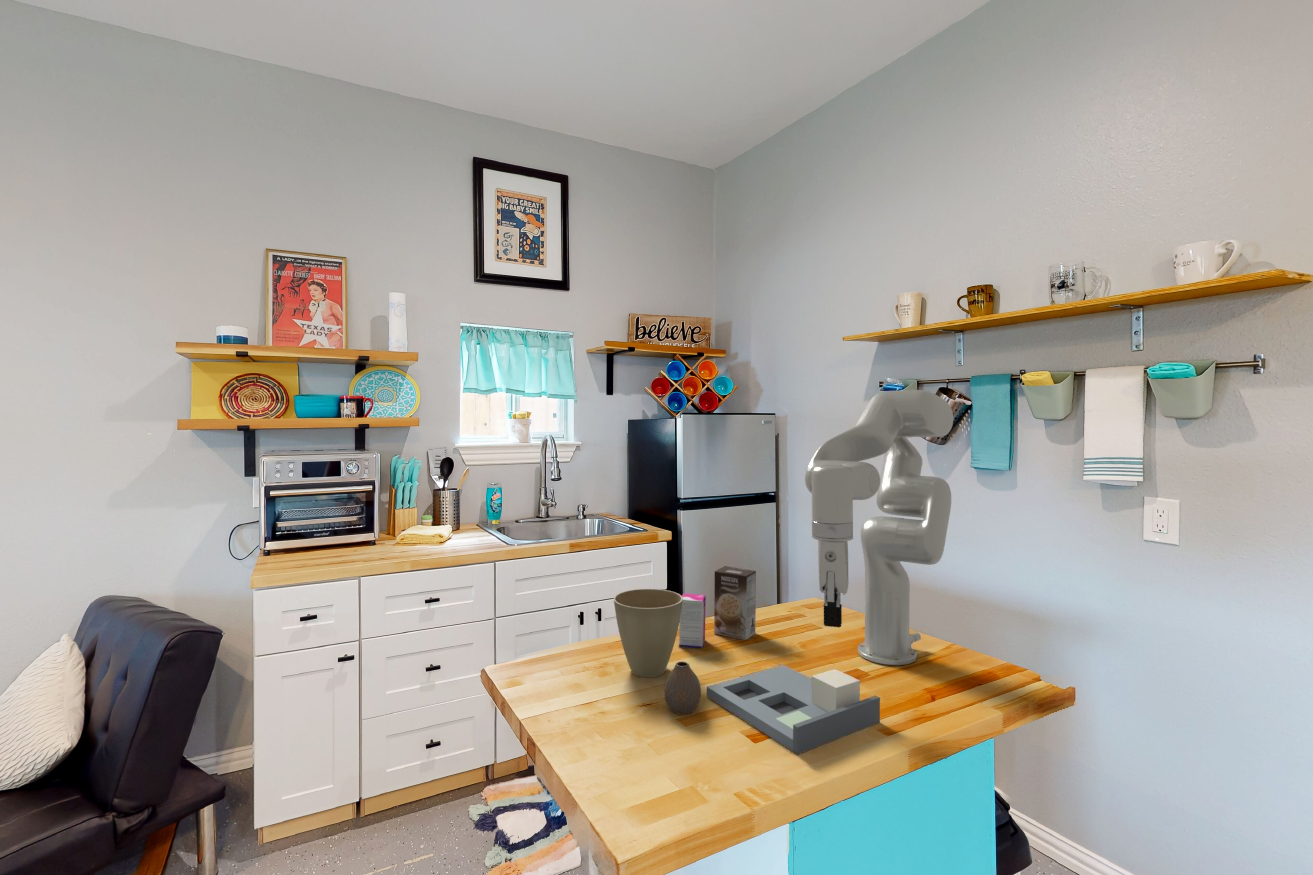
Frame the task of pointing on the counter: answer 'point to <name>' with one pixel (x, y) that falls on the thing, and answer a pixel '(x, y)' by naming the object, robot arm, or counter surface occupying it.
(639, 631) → the plant pot
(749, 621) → the coffee box
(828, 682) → the cream block
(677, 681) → the vase
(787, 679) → the board
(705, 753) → the counter surface
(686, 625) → the supplement box
